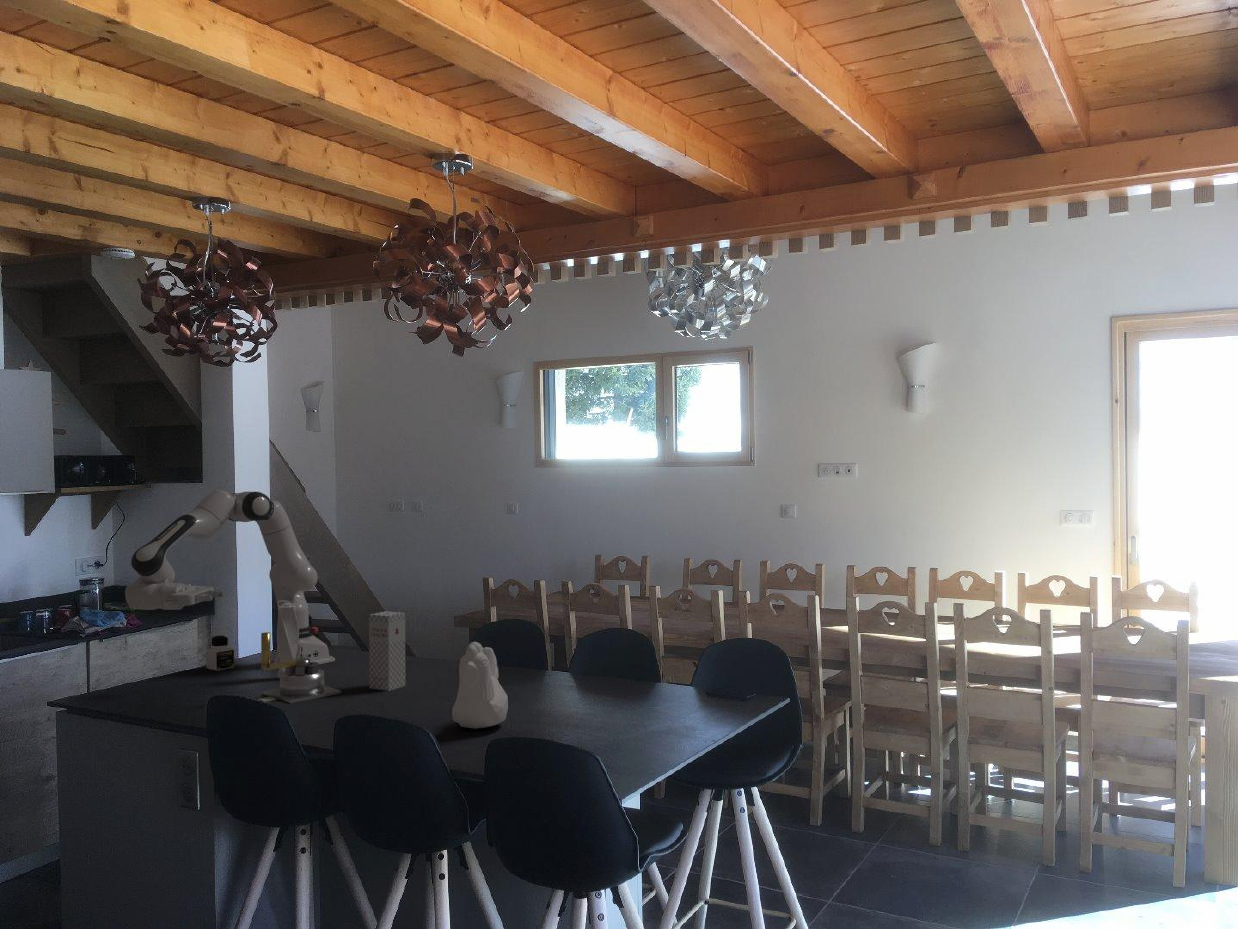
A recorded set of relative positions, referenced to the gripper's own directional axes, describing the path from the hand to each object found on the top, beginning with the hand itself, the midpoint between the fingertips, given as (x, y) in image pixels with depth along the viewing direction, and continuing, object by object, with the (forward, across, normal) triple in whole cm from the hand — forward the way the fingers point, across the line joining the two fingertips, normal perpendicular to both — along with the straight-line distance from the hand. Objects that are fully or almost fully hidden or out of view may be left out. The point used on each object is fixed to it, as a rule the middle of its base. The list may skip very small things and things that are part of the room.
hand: (217, 596), depth 329 cm
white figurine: (+95, -44, +32) cm, 109 cm away
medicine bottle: (-14, +38, +32) cm, 52 cm away
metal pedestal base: (+30, -5, +32) cm, 44 cm away
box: (+56, +4, +32) cm, 64 cm away
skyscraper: (+18, +20, +32) cm, 42 cm away
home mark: (+21, -13, +32) cm, 40 cm away
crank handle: (+26, -7, +25) cm, 37 cm away
